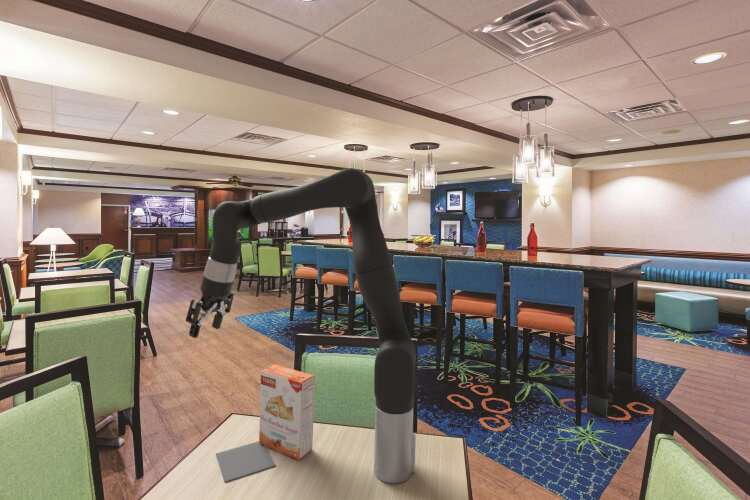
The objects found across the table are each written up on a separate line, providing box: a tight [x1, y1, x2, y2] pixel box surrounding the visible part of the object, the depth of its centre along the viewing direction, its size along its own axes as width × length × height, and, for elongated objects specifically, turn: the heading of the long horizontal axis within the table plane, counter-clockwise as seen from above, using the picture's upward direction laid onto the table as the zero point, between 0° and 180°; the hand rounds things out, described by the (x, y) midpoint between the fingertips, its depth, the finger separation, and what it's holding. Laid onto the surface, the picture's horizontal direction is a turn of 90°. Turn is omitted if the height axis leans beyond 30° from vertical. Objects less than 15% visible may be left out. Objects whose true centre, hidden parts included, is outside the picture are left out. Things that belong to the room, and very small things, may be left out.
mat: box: [215, 440, 276, 483], centre depth 99 cm, size 12×12×1 cm
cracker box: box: [258, 363, 316, 461], centre depth 104 cm, size 14×6×21 cm, turn 62°
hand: (205, 332), depth 103 cm, fingers open, 8 cm apart
